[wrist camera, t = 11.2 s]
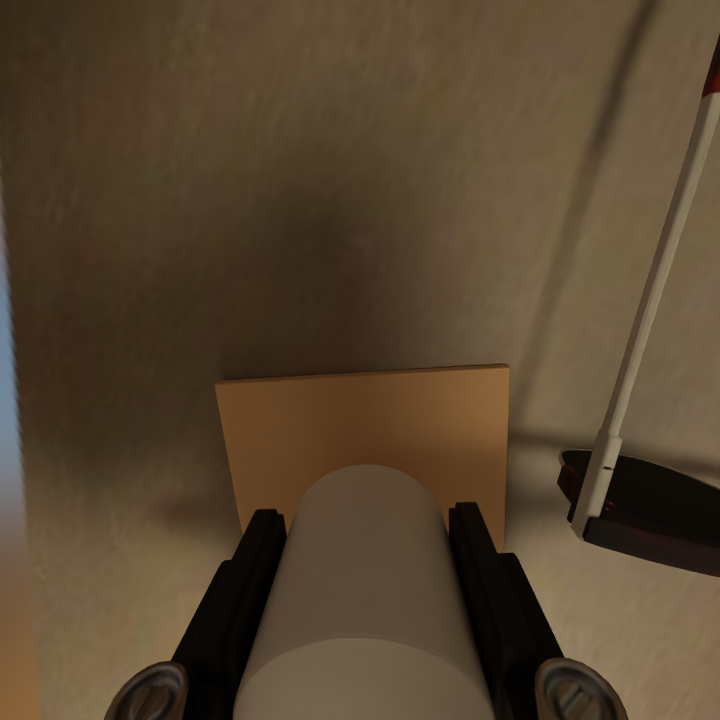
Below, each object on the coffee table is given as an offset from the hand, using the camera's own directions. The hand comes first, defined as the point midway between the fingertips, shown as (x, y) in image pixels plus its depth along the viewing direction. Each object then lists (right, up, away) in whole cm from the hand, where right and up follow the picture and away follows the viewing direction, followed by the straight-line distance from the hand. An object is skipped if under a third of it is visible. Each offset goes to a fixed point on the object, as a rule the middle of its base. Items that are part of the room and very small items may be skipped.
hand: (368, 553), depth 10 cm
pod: (0, 0, +1) cm, 1 cm away
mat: (0, +1, +2) cm, 2 cm away
